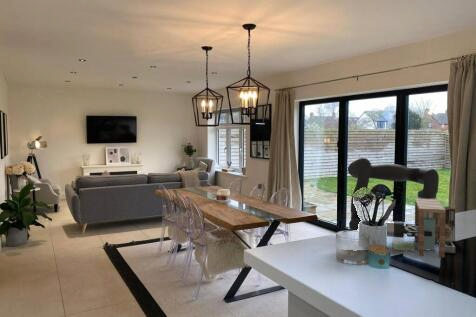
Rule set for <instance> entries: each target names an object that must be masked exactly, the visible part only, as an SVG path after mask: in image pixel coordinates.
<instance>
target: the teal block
mask: <svg viewBox="0 0 476 317" xmlns="http://www.w3.org/2000/svg"><path fill="white" fill-rule="evenodd" d="M424 231H431V232H432V237H429V236H424V249H431V250H430V251H435V250H436V243H435V219H434V218H427V217H424Z"/></svg>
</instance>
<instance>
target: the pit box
mask: <svg viewBox="0 0 476 317" xmlns="http://www.w3.org/2000/svg"><path fill="white" fill-rule="evenodd" d="M453 242H454V241H445V254H453V255H454V254H456V245H455V244H454V243H453Z"/></svg>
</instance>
